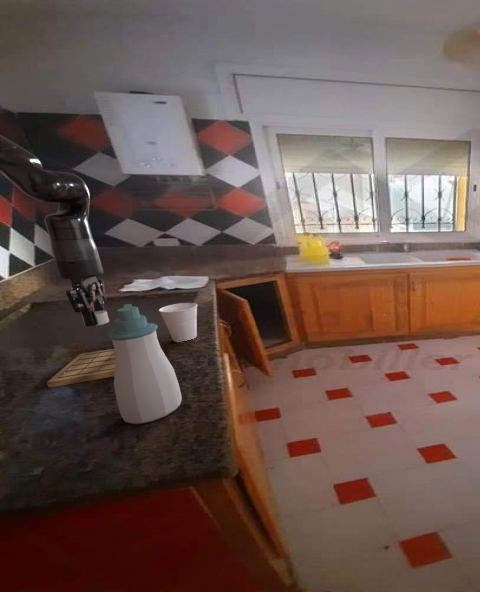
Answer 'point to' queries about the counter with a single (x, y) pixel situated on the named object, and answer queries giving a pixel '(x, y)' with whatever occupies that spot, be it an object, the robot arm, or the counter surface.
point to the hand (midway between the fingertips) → (96, 322)
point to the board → (86, 368)
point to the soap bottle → (141, 370)
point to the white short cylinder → (101, 317)
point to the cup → (180, 320)
